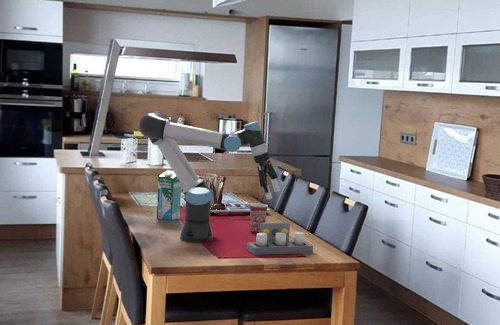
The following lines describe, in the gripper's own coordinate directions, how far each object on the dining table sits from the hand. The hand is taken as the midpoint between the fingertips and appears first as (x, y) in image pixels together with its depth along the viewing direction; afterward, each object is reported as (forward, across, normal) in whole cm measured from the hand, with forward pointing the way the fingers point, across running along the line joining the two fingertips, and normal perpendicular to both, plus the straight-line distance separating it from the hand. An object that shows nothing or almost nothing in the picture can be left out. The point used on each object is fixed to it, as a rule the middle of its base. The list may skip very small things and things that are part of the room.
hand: (273, 195), depth 323 cm
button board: (+21, -29, -5) cm, 36 cm away
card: (+20, -24, -1) cm, 31 cm away
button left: (+14, -34, 0) cm, 37 cm away
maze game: (+12, +47, +42) cm, 64 cm away
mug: (+17, +7, +17) cm, 25 cm away
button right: (+20, -23, -13) cm, 33 cm away
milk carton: (0, +9, +64) cm, 65 cm away
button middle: (+17, -29, -6) cm, 34 cm away
